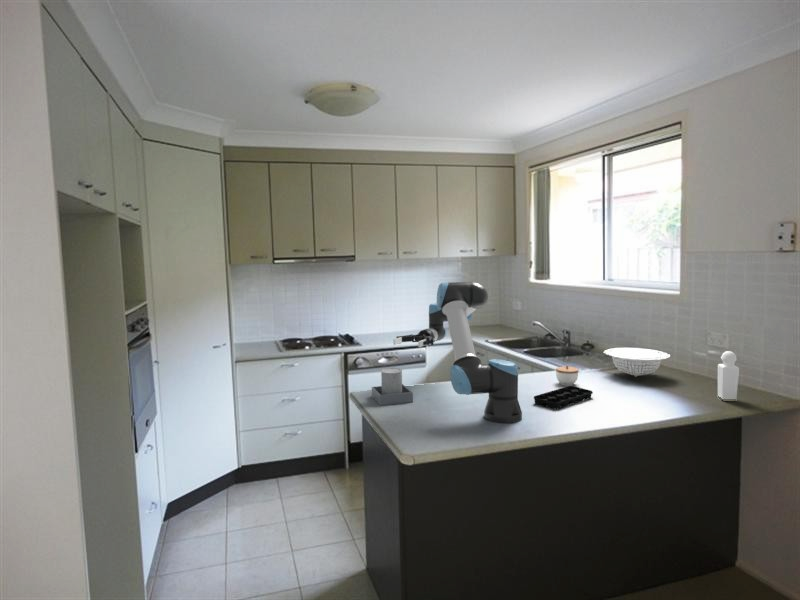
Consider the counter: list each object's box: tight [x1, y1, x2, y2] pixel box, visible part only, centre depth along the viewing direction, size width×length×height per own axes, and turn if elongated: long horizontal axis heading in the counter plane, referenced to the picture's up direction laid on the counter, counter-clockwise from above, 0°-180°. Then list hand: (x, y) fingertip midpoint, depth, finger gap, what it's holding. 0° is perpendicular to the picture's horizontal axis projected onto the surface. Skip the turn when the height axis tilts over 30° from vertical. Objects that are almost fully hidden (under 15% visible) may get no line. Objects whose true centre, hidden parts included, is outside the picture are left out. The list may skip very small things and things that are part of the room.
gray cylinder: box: [380, 367, 403, 395], centre depth 243 cm, size 10×10×12 cm
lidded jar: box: [555, 365, 579, 387], centre depth 266 cm, size 11×11×9 cm
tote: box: [371, 383, 414, 406], centre depth 243 cm, size 15×15×4 cm
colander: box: [603, 347, 671, 378], centre depth 277 cm, size 32×32×13 cm
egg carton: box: [533, 385, 593, 410], centre depth 238 cm, size 18×30×4 cm, turn 140°
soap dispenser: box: [717, 350, 740, 400], centre depth 234 cm, size 6×6×22 cm
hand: (406, 343), depth 250 cm, fingers open, 13 cm apart
